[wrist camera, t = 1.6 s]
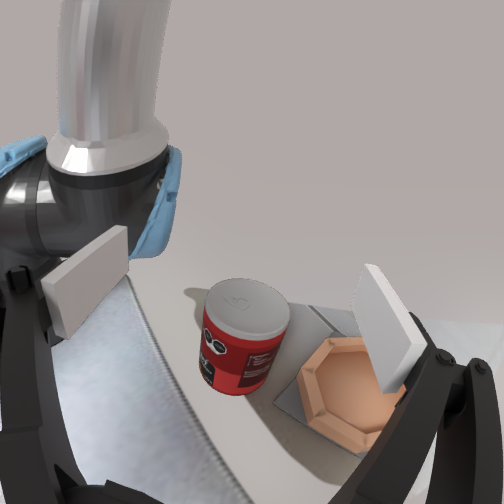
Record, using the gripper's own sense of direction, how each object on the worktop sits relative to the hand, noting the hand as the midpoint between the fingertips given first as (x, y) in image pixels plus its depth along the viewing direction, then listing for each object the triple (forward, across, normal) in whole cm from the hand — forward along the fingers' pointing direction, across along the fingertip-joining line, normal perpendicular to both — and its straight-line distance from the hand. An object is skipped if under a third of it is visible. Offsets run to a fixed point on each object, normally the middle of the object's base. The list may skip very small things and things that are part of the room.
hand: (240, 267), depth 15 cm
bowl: (+8, +16, -20) cm, 27 cm away
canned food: (+10, 0, -19) cm, 21 cm away
